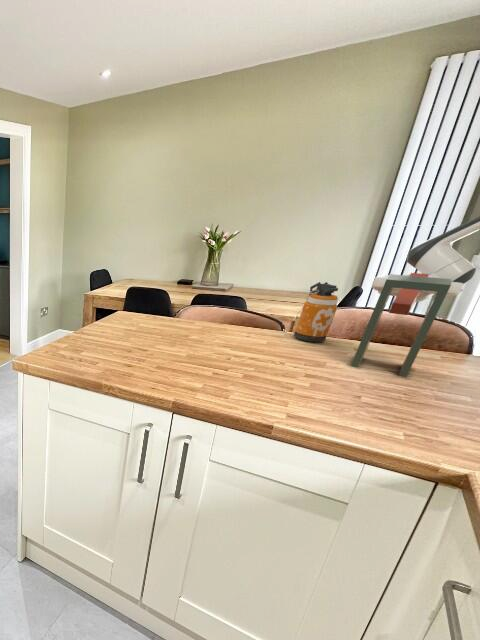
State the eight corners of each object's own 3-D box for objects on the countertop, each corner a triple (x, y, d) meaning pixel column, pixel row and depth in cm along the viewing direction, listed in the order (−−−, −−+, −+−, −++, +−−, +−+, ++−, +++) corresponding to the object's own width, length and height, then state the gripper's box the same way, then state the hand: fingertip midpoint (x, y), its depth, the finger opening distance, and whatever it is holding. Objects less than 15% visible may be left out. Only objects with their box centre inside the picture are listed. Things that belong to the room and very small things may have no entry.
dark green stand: (409, 366, 119) (452, 279, 108) (406, 377, 113) (451, 285, 102) (356, 356, 128) (390, 274, 117) (350, 365, 121) (386, 279, 110)
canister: (302, 342, 140) (321, 285, 132) (284, 333, 150) (302, 279, 142) (330, 343, 139) (352, 286, 131) (311, 333, 149) (330, 279, 141)
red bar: (424, 284, 129) (428, 273, 127) (407, 315, 119) (411, 304, 117) (407, 282, 131) (411, 272, 129) (388, 313, 122) (392, 302, 120)
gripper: (457, 301, 129) (459, 298, 120) (371, 292, 144) (367, 289, 135) (466, 281, 127) (469, 276, 119) (379, 274, 142) (375, 270, 133)
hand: (414, 283), depth 127 cm, fingers closed on red bar, 4 cm apart
